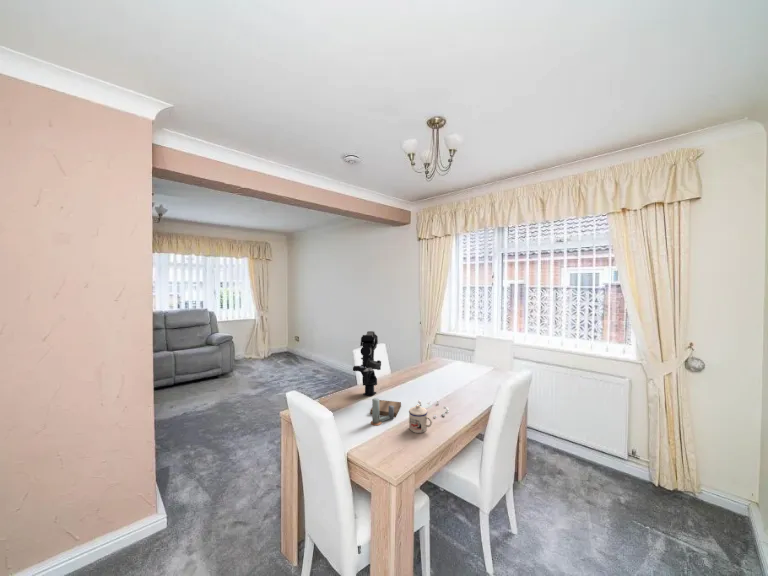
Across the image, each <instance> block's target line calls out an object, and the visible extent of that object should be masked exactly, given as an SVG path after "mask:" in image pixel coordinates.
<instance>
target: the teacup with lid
mask: <svg viewBox="0 0 768 576" xmlns="http://www.w3.org/2000/svg"><path fill="white" fill-rule="evenodd" d="M408 413H409V414H408V415H409V417H408V423H409V425H408V427H409V430H410V431H411V432H413V433H416V434H423V433H425V432H427V430H428V428H430V427H431V426H432V425H433V420H432V418H431V417H429V416H428V410H427V409H426V408H425V407H422V406H421V405H420V404H418V405H415V406H413V407H410V408H409V409H408ZM428 421H429V424H428Z"/></svg>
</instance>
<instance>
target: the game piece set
mask: <svg viewBox="0 0 768 576" xmlns="http://www.w3.org/2000/svg"><path fill="white" fill-rule="evenodd" d="M439 402H440V401H439V399H436V405H439V404H440V403H439ZM418 403H419V404H418ZM430 403H431V401H429V402H427V403H426V404H427V405H430ZM422 404H423V403H422V401H421V400H420V399H419V400H418V402H417V405H420V406H422ZM443 409H446V411H444V412H441V413H440V414H441V416H442V417H445V416H446V413H447V414H448V413H449V410H450V409H449V407H447V406H446V405H444V406H443ZM437 418H438V416H437V414H433V419H437Z"/></svg>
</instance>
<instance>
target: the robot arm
mask: <svg viewBox="0 0 768 576" xmlns="http://www.w3.org/2000/svg"><path fill="white" fill-rule="evenodd" d="M378 340H379V339H378V335H377V334H376V332H375V331H374V330H371V331H367V332H366V334H362V336H361V337H360V347H361V349H360V354H361V356H362V357H360V359H361V360H362V362H361V363H362V364H360V365H353V367H352V371H353V372H360V373H361V376H362V386H364V392H363V396H368V397H373V396H374V395H376V394H377V391H375V386H377V385H378V379H377V376H376V373H375V370H377V371H380V370H381V366H382V361H381V360H379V359H378V360H377V361H376V360H375V350H376V348H377V347H378V346H377V345H378V343H379V341H378Z"/></svg>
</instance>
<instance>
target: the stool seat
mask: <svg viewBox="0 0 768 576" xmlns="http://www.w3.org/2000/svg"><path fill="white" fill-rule="evenodd" d="M390 405H392V406H394V418H396V417H397V416H398V414H399V412H400V410H401V407H402V403H401V401H393V400H382V399H379V417H380V416H381V417H384V416H388V415H389V406H390ZM370 415H371V416H372V408H371V409H370ZM382 423H383V421H380V422H379V423H373V422H372V420H371V422H370V425H372V426H381V425H382Z"/></svg>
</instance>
